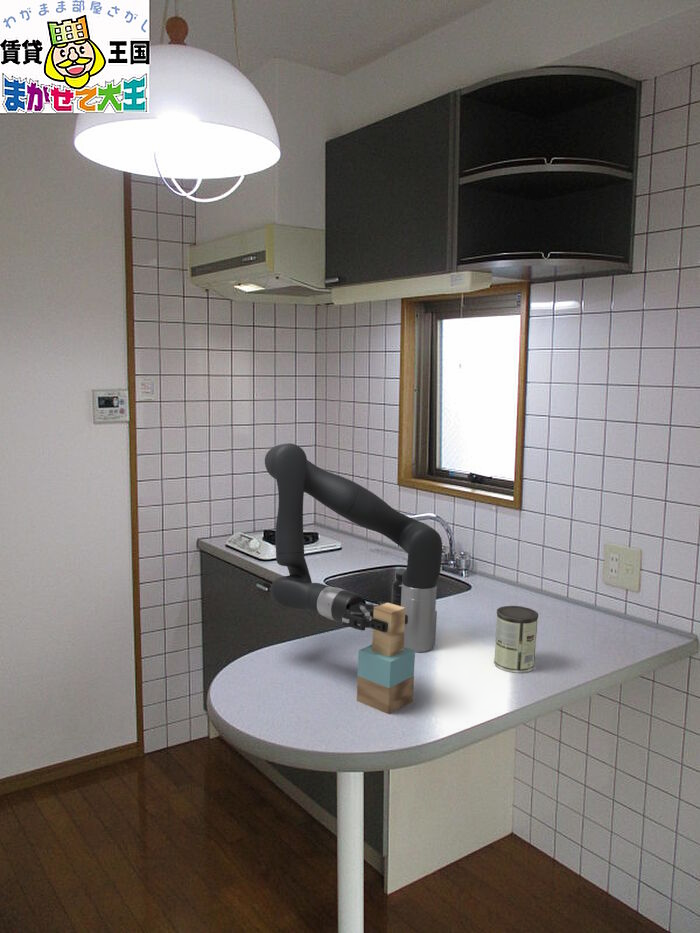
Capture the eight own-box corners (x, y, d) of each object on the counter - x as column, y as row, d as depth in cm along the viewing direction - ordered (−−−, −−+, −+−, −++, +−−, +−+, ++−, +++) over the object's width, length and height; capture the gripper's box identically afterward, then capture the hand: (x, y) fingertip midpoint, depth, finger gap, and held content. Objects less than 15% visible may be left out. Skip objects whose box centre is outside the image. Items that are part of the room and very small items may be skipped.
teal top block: (382, 664, 181) (383, 639, 180) (413, 676, 175) (415, 650, 174) (357, 675, 174) (358, 650, 173) (389, 688, 169) (390, 661, 168)
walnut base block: (381, 689, 182) (382, 664, 181) (412, 701, 176) (414, 676, 175) (356, 701, 175) (357, 675, 174) (388, 714, 169) (389, 688, 168)
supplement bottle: (399, 605, 242) (401, 568, 240) (417, 611, 237) (419, 573, 236) (386, 611, 236) (388, 572, 235) (404, 616, 232) (406, 577, 230)
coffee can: (501, 654, 206) (504, 602, 204) (539, 663, 201) (543, 610, 199) (487, 666, 197) (490, 613, 195) (527, 676, 192) (531, 621, 190)
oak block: (386, 644, 177) (387, 602, 176) (403, 650, 174) (405, 607, 173) (372, 650, 174) (373, 607, 172) (389, 656, 170) (391, 612, 169)
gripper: (320, 596, 176) (377, 615, 165) (361, 583, 187) (417, 600, 176) (319, 628, 177) (375, 648, 166) (360, 614, 188) (415, 632, 177)
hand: (397, 623), depth 171 cm, fingers open, 6 cm apart
